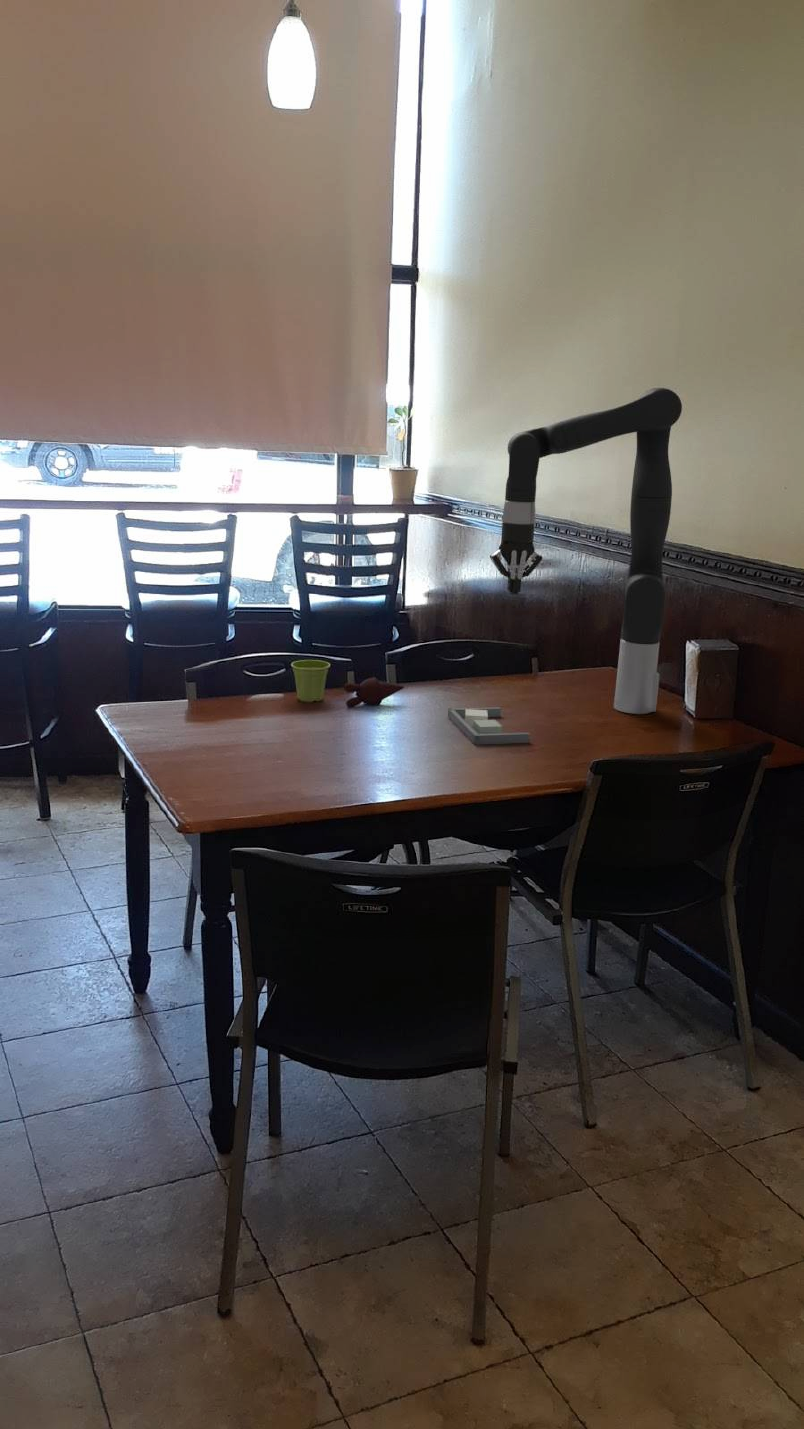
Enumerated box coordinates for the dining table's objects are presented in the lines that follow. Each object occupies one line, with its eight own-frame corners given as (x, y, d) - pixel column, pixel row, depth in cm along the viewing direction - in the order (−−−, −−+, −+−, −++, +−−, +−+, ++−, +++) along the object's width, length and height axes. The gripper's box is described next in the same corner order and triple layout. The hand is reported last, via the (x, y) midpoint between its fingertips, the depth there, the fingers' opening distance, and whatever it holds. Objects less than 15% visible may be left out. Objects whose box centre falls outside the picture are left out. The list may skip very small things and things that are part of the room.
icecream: (396, 672, 272) (338, 681, 267) (407, 672, 265) (347, 681, 260) (400, 700, 272) (342, 710, 267) (411, 701, 265) (351, 710, 260)
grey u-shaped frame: (499, 715, 262) (499, 707, 262) (529, 742, 243) (530, 733, 242) (448, 716, 259) (448, 708, 259) (474, 744, 240) (475, 735, 239)
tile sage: (493, 732, 250) (494, 719, 249) (501, 739, 245) (502, 726, 244) (472, 733, 249) (473, 720, 248) (479, 740, 244) (480, 726, 243)
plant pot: (284, 701, 266) (284, 666, 264) (299, 692, 275) (299, 657, 272) (321, 706, 264) (322, 670, 261) (335, 696, 272) (335, 662, 270)
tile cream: (486, 722, 257) (487, 710, 256) (487, 729, 252) (487, 716, 251) (464, 721, 257) (465, 709, 256) (464, 728, 252) (465, 715, 252)
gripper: (539, 519, 266) (534, 591, 270) (486, 518, 262) (482, 591, 267) (551, 523, 259) (545, 597, 263) (496, 522, 255) (491, 597, 260)
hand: (513, 594), depth 265 cm, fingers closed
